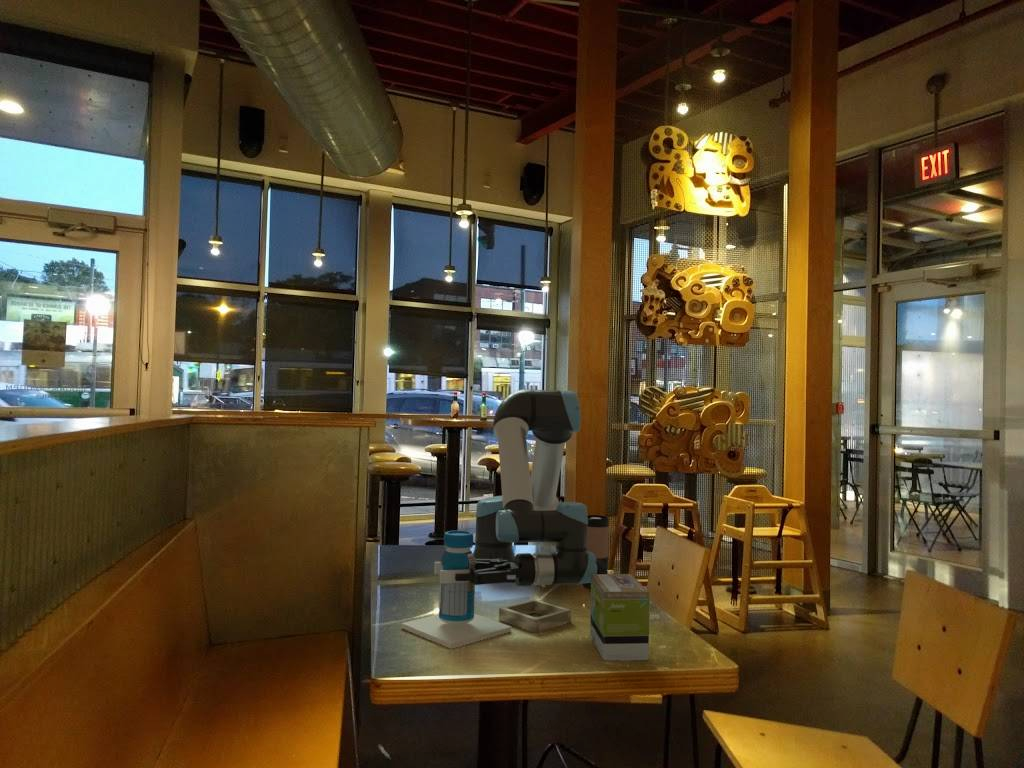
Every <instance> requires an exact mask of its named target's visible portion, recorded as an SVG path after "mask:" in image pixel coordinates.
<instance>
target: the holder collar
mask: <svg viewBox="0 0 1024 768" xmlns="http://www.w3.org/2000/svg"><path fill="white" fill-rule="evenodd" d="M531 613H532V614H536V613H537V615H540V616H537V617H535V616H531V615H532V614H531ZM527 614H528V615H527ZM500 620H501V621H500ZM498 621H500V622H502V621H504V622H503V623H505V622H507V623H506V624H508V623H509V624H508V625H511V624H512V626H514V625H515V626H514V627H517V626H518V628H520V627H521V628H520V629H523V630H525V629H526V631H528V630H529V632H531V631H532V633H535V634H537V633H541V632H545V631H547V629H548V630H551V629H554V628H557V626H558V627H560V625H561V626H563V624H564V625H568V624H571V623H572V609H569V608H566V607H562V606H559V605H555V604H552V603H549V602H545V601H542V600H539V599H536V598H533V599H529V600H525V601H521V602H517V603H514V604H510V605H505V606H502V607H499V608H498ZM567 623H568V624H567ZM550 628H551V629H550Z"/></svg>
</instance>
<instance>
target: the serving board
mask: <svg viewBox="0 0 1024 768" xmlns="http://www.w3.org/2000/svg"><path fill="white" fill-rule="evenodd" d="M401 629H402V630H404V629H405V630H404V631H406V630H407V632H409V633H411V632H412V633H411V634H414V635H416V636H418V635H419V637H421V638H423V637H424V638H423V639H425V638H426V640H428V641H430V640H431V641H430V642H433V643H435V642H436V644H437V643H438V644H437V645H440V644H441V645H440V646H442V645H443V646H442V647H444V648H447V647H448V648H447V649H449V648H450V650H453V649H456V647H457V648H460V647H463V645H464V646H466V644H467V645H470V643H471V644H475V643H477V641H478V642H480V640H481V641H485V640H487V638H488V639H491V638H490V637H492V638H494V636H495V637H499V636H501V634H502V635H505V634H504V633H506V634H509V633H511V632H512V626H510V625H509V624H506V623H503V622H499V621H496V620H493V619H492V618H491V619H490V618H488V617H485V616H482V615H479V614H478V613H477V614H476V613H474V619H473V620H472V621H470V622H468V623H463V624H450V623H445V622H443V621H441V620H440V619H439V613H438V614H436V615H432V616H425V617H422V618H419V619H418V618H417V619H414V620H410V621H405V622H402V623H401ZM508 632H509V633H508ZM498 635H499V636H498ZM484 639H485V640H484ZM452 648H453V649H452Z"/></svg>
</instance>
